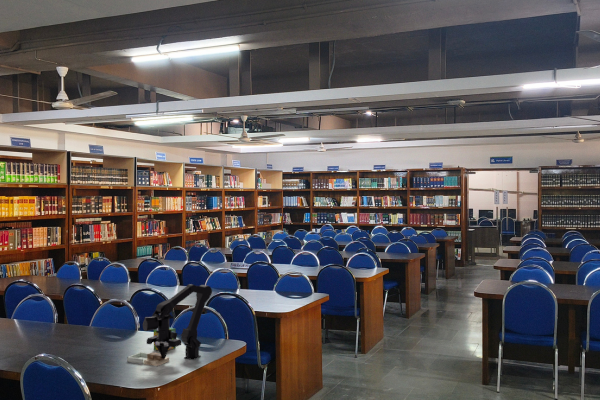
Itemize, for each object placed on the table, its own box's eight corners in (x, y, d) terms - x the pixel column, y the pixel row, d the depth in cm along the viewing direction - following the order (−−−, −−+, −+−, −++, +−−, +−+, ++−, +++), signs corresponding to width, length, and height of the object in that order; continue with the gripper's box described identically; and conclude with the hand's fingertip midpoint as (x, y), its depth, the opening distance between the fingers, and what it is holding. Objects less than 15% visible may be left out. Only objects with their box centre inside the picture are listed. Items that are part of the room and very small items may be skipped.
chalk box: (164, 352, 293) (164, 325, 293) (153, 350, 298) (152, 323, 298) (176, 348, 301) (176, 322, 301) (164, 346, 306) (164, 320, 306)
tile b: (158, 357, 274) (158, 353, 274) (153, 359, 271) (153, 354, 271) (152, 356, 276) (152, 352, 276) (147, 358, 272) (147, 354, 272)
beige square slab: (169, 361, 274) (169, 357, 274) (157, 366, 266) (157, 362, 266) (155, 359, 278) (155, 355, 278) (143, 364, 270) (143, 360, 270)
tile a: (165, 358, 272) (165, 353, 272) (159, 360, 269) (159, 355, 269) (159, 357, 274) (159, 353, 274) (153, 359, 270) (153, 355, 271)
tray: (155, 359, 279) (155, 354, 279) (142, 364, 270) (142, 359, 270) (140, 356, 284) (140, 352, 284) (127, 361, 275) (127, 357, 275)
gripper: (188, 326, 273) (188, 356, 273) (160, 323, 282) (160, 352, 281) (174, 330, 263) (174, 362, 263) (145, 327, 272) (146, 357, 271)
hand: (164, 358), depth 270 cm, fingers closed
